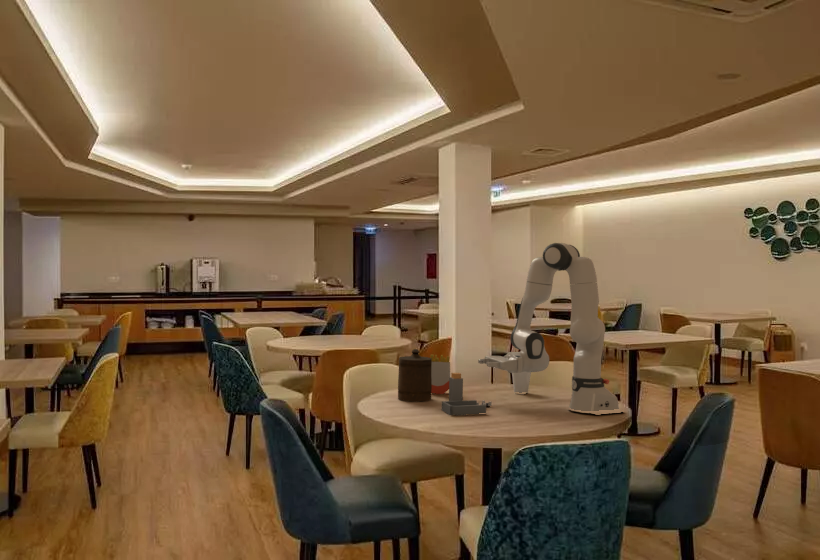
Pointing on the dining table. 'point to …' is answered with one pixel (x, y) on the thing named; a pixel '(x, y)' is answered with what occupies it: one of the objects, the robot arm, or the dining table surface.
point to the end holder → (462, 407)
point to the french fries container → (440, 374)
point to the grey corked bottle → (455, 387)
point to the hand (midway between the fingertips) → (483, 362)
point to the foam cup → (521, 381)
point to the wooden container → (414, 378)
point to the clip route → (486, 403)
